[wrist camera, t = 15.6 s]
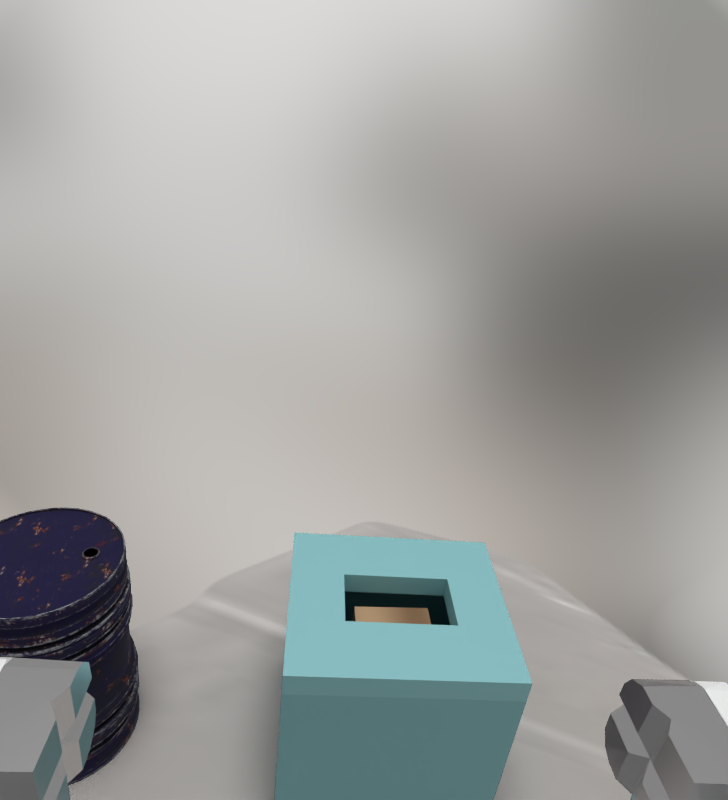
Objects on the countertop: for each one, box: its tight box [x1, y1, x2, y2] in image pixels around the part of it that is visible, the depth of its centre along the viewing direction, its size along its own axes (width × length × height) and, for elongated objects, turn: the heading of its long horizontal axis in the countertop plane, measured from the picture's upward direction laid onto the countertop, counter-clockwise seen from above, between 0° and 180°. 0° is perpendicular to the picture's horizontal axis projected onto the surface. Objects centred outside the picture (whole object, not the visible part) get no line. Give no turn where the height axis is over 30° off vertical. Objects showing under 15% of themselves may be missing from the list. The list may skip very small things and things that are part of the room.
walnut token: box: [353, 606, 431, 624], centre depth 42 cm, size 5×2×10 cm, turn 94°
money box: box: [274, 533, 532, 800], centre depth 42 cm, size 14×12×13 cm
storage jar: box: [0, 508, 139, 785], centre depth 40 cm, size 10×10×15 cm
